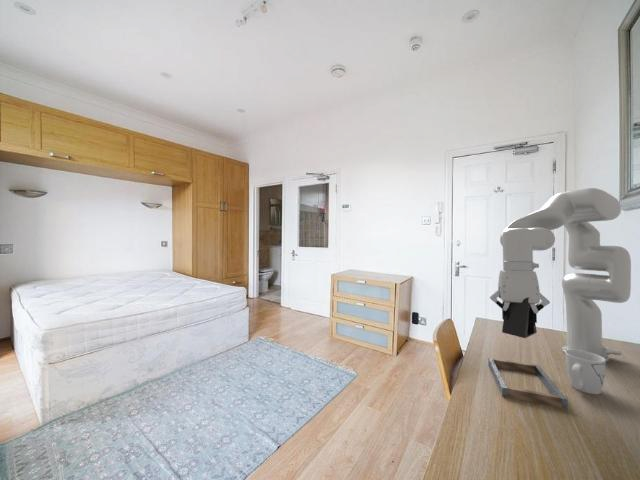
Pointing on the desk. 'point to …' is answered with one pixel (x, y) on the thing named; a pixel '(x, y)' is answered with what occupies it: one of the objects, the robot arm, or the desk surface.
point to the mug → (585, 370)
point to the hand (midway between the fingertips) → (519, 322)
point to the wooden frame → (548, 399)
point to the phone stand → (519, 320)
